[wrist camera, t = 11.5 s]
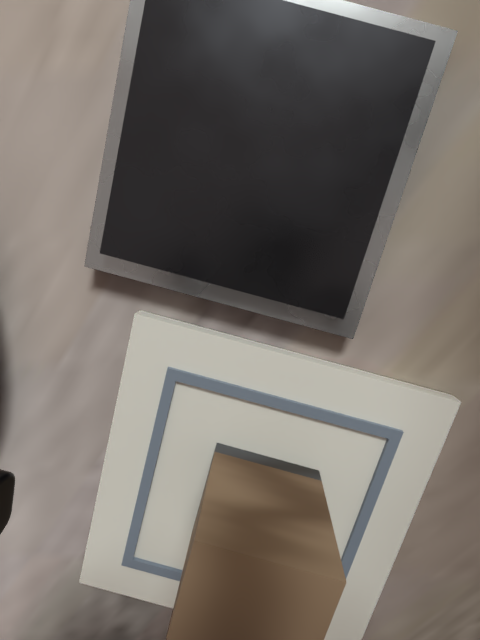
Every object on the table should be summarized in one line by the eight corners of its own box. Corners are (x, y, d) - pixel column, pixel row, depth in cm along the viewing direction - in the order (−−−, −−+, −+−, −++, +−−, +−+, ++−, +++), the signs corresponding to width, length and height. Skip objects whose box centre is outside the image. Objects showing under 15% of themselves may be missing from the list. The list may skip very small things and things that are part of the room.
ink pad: (445, 44, 15) (466, 21, 13) (347, 333, 17) (356, 342, 16) (147, -35, 15) (134, -67, 13) (94, 264, 17) (77, 267, 16)
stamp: (319, 470, 18) (346, 582, 12) (289, 556, 19) (301, 698, 13) (216, 442, 18) (194, 540, 12) (192, 530, 19) (160, 659, 13)
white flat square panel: (452, 394, 18) (463, 403, 17) (350, 642, 21) (354, 662, 20) (140, 310, 18) (133, 314, 17) (86, 569, 21) (77, 586, 20)
